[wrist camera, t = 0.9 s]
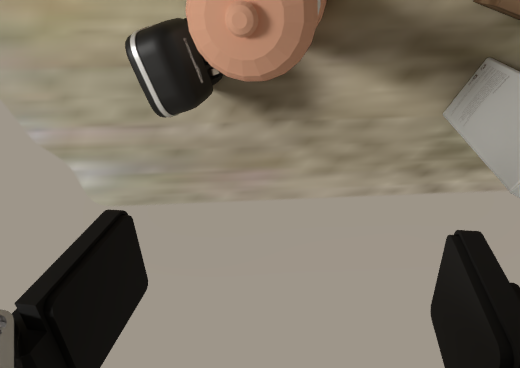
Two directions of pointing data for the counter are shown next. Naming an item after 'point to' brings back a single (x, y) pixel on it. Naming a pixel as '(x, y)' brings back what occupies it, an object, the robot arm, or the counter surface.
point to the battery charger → (170, 67)
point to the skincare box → (491, 119)
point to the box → (503, 6)
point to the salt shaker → (253, 34)
